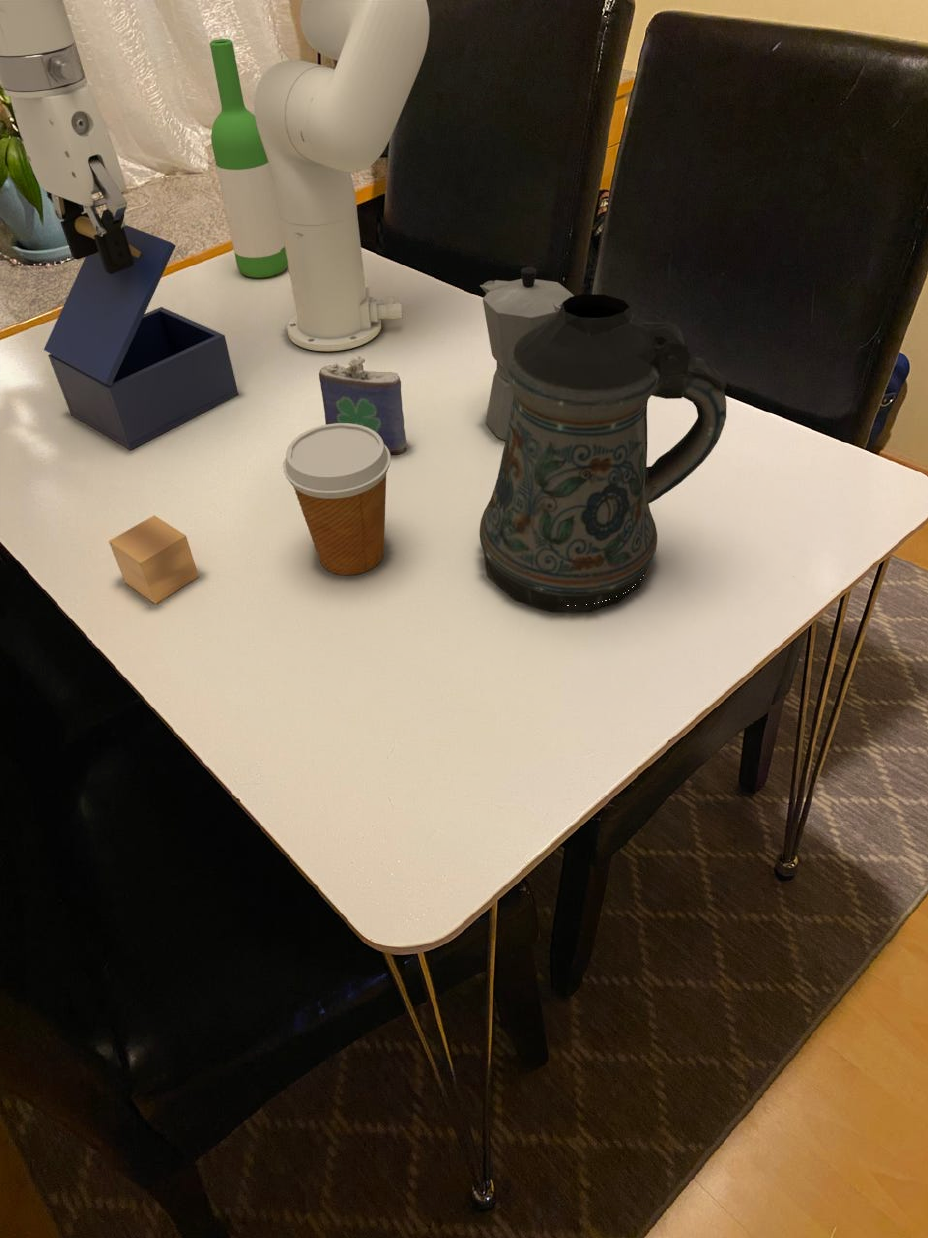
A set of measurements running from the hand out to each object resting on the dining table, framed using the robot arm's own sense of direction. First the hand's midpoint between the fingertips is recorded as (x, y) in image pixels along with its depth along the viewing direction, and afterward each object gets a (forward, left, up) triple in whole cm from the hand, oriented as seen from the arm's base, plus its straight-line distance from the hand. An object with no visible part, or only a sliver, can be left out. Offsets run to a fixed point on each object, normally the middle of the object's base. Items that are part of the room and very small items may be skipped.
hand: (103, 260), depth 96 cm
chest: (-1, -1, -18) cm, 18 cm away
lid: (0, 0, -4) cm, 4 cm away
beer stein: (-48, +32, -18) cm, 60 cm away
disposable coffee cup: (-26, +30, -18) cm, 44 cm away
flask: (-27, +11, -18) cm, 34 cm away
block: (-8, +32, -18) cm, 38 cm away
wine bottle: (-10, -40, -18) cm, 45 cm away
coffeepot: (-46, +9, -18) cm, 50 cm away
